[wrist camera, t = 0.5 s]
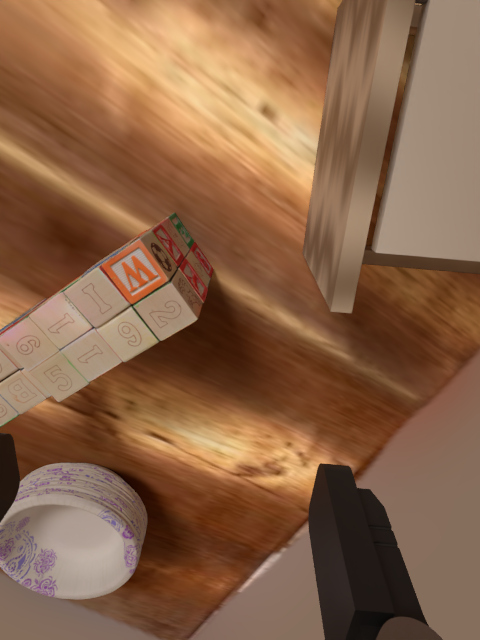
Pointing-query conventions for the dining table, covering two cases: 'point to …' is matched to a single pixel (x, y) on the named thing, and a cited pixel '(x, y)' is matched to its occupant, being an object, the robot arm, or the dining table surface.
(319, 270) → the frame
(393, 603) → the robot arm
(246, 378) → the dining table surface
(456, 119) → the trapdoor
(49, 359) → the stack of blocks
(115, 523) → the paper bowls
